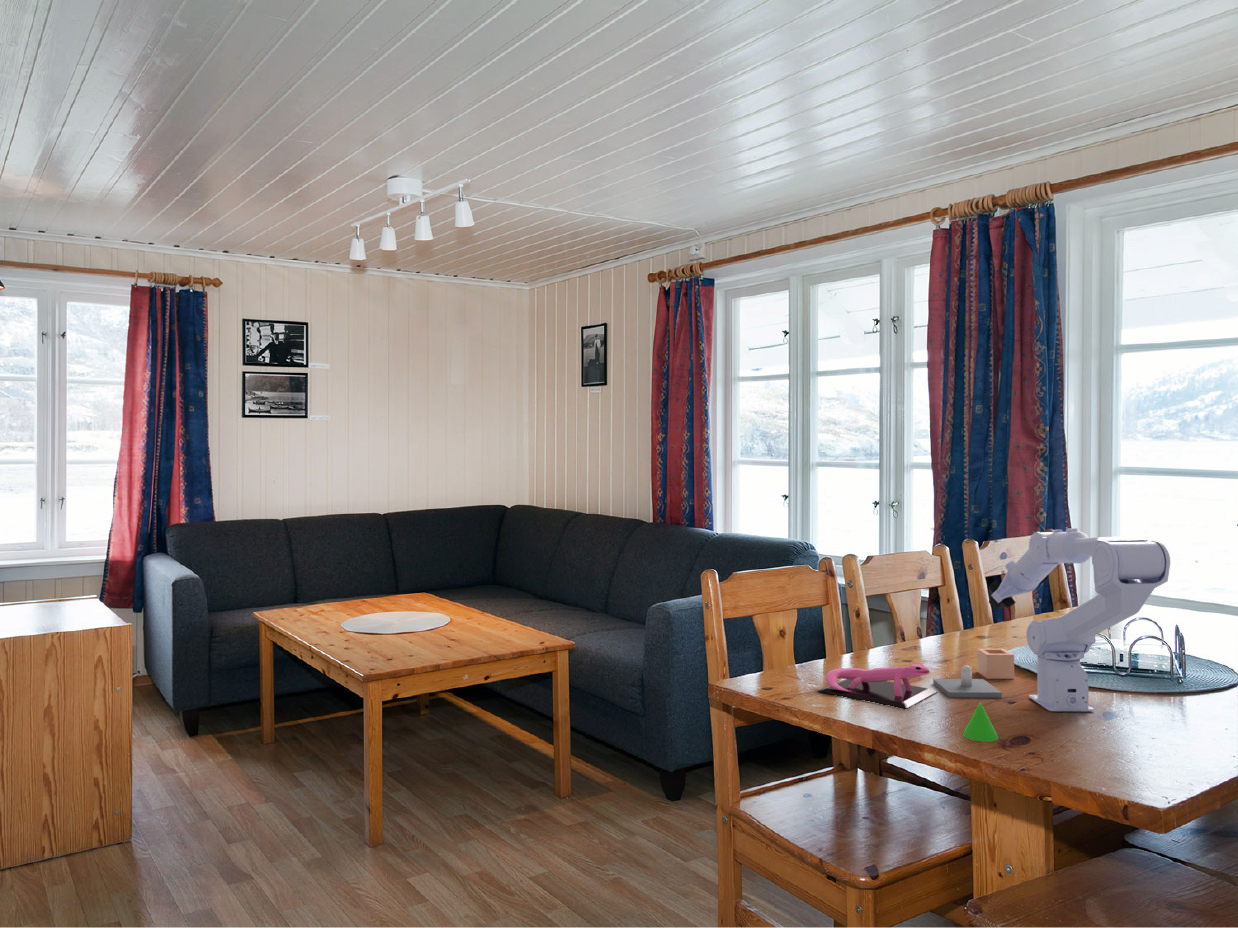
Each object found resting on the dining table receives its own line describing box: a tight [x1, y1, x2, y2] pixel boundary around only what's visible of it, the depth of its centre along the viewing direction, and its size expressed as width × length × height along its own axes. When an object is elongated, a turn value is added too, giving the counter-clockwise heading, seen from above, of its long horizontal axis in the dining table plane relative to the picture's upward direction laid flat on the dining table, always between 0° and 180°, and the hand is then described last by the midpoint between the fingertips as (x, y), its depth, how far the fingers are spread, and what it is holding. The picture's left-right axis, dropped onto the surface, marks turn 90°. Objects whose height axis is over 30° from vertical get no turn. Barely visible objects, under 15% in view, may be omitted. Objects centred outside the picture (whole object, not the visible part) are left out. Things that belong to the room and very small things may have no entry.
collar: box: [976, 648, 1015, 680], centre depth 190 cm, size 6×6×5 cm
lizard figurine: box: [817, 663, 939, 710], centre depth 177 cm, size 15×20×7 cm
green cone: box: [962, 701, 999, 743], centre depth 151 cm, size 6×6×6 cm
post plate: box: [932, 664, 1003, 699], centre depth 178 cm, size 10×10×5 cm
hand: (1006, 595), depth 190 cm, fingers open, 7 cm apart
